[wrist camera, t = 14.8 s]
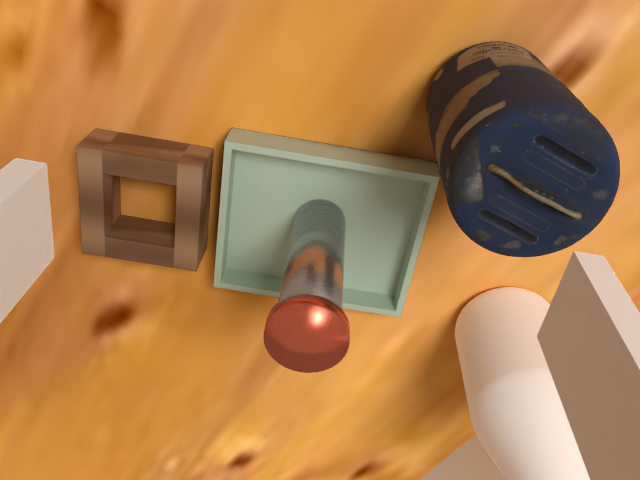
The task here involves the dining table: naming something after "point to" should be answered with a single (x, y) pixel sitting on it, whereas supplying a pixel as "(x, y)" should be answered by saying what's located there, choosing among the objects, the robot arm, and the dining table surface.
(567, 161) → the canister
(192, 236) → the socket block
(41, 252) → the robot arm
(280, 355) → the pin
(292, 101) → the dining table surface
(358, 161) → the tray
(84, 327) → the dining table surface
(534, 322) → the wine bottle
